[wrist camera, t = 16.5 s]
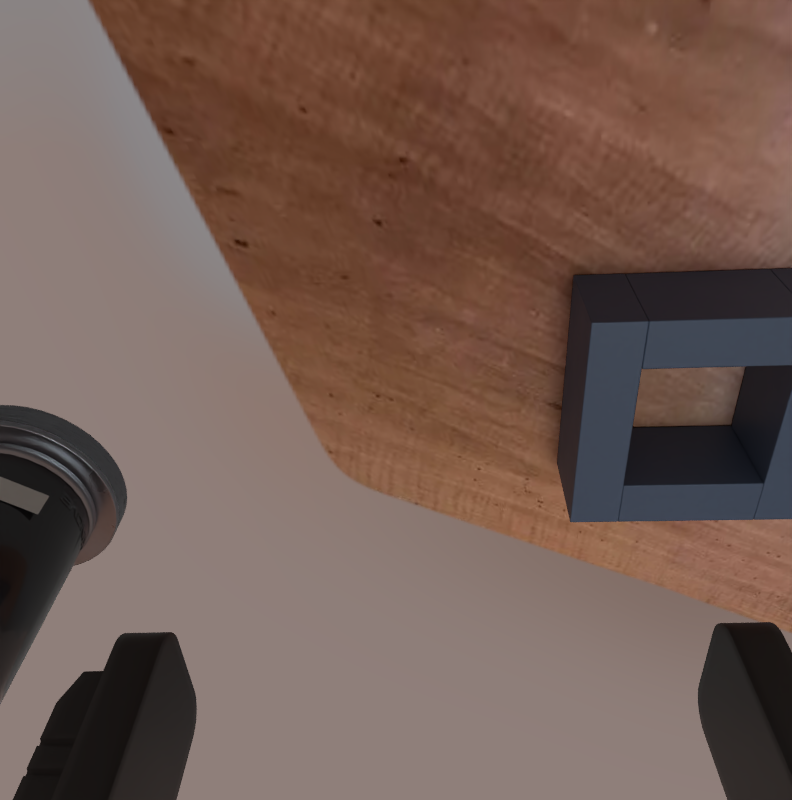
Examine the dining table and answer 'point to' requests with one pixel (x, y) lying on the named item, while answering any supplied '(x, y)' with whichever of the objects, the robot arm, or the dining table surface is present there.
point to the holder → (677, 348)
